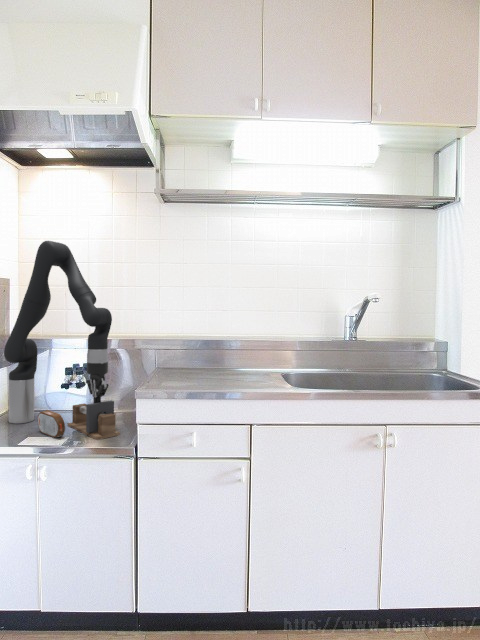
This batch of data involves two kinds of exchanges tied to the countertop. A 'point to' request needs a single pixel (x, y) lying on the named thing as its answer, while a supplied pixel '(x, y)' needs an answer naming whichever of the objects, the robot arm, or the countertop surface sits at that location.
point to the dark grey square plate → (93, 412)
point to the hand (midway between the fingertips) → (97, 406)
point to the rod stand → (104, 423)
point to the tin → (51, 423)
